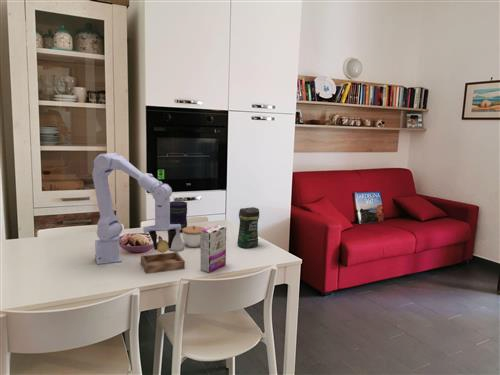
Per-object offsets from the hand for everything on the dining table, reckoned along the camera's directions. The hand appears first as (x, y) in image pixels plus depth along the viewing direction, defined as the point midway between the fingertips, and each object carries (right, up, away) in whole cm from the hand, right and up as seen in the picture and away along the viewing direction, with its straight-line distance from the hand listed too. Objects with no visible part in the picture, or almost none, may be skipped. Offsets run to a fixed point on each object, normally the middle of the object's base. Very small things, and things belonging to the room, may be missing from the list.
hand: (162, 248), depth 158 cm
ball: (0, -2, 0) cm, 2 cm away
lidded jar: (+8, -3, +29) cm, 30 cm away
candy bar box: (+20, -8, +1) cm, 22 cm away
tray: (0, -7, +1) cm, 7 cm away
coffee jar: (+34, -4, +31) cm, 46 cm away
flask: (+1, -4, +22) cm, 23 cm away
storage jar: (-3, +1, +51) cm, 52 cm away
